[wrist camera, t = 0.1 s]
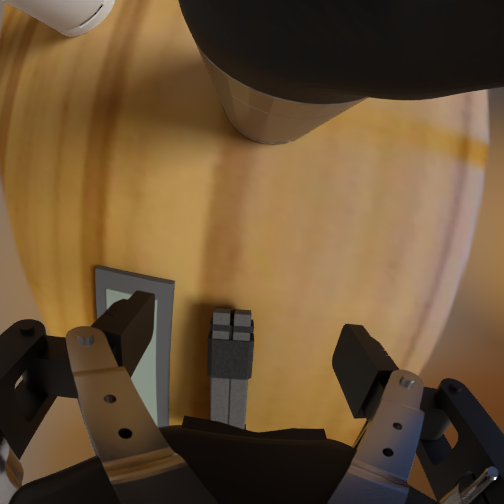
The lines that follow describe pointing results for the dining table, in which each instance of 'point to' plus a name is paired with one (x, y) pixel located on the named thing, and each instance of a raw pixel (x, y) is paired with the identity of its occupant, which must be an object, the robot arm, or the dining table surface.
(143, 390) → the charging mat
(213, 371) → the gun
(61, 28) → the bottle
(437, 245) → the dining table surface
